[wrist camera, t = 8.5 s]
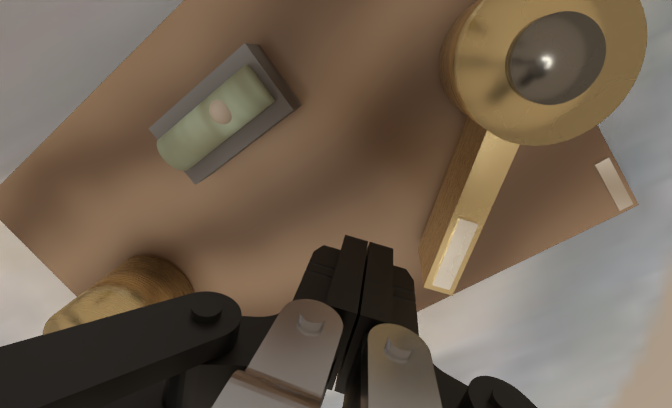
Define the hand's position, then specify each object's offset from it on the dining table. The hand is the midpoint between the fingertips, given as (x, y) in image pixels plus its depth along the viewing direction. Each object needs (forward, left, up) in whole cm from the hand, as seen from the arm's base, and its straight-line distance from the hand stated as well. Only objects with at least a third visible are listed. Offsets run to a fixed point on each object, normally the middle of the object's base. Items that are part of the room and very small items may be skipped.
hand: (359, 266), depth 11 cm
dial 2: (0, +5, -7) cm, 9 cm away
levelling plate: (-2, -5, -9) cm, 11 cm away
